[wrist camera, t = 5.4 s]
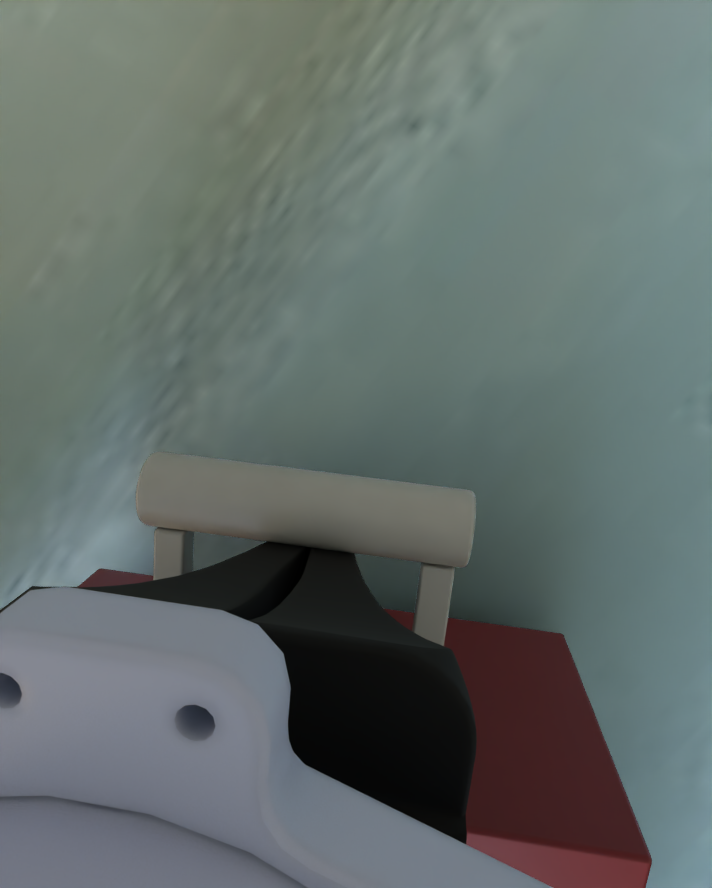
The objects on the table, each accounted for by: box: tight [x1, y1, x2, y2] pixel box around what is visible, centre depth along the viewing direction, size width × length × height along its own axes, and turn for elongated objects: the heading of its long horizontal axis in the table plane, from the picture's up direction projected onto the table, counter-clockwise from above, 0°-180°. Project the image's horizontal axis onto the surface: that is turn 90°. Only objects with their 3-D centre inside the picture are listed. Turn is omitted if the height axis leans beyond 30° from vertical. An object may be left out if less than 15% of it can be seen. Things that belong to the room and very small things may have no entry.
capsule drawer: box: [78, 451, 652, 888], centre depth 15 cm, size 18×12×7 cm
